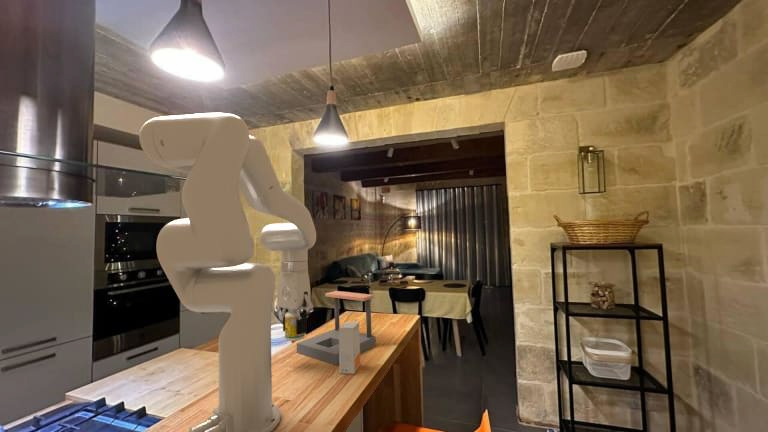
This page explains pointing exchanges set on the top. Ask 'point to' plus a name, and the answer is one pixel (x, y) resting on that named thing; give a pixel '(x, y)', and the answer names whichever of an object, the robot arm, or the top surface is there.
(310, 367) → the top surface
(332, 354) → the socket block
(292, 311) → the supplement bottle
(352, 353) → the skincare box
